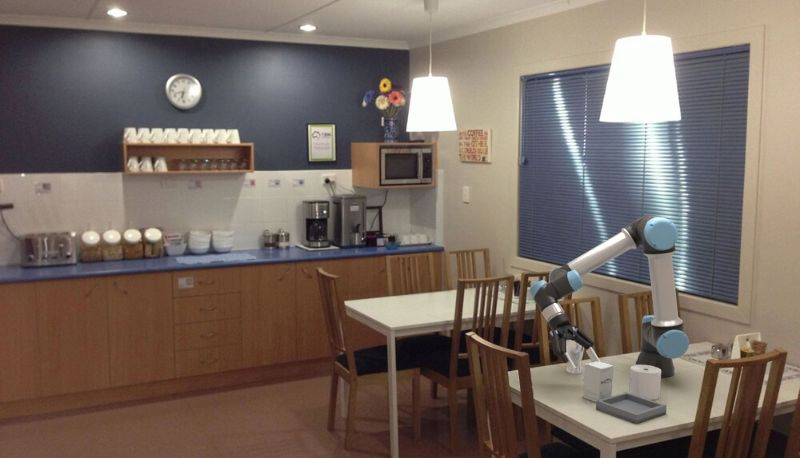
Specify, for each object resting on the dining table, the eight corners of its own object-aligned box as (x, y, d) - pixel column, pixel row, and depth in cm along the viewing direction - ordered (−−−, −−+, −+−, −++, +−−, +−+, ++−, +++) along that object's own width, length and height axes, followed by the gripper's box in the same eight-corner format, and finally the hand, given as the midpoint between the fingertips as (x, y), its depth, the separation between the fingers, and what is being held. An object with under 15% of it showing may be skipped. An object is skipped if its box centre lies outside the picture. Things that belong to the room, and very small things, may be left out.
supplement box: (598, 403, 257) (600, 368, 256) (582, 397, 263) (583, 363, 261) (612, 399, 261) (614, 365, 260) (595, 393, 267) (597, 360, 266)
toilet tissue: (653, 390, 272) (655, 364, 271) (665, 402, 260) (667, 374, 259) (625, 390, 272) (626, 364, 271) (635, 401, 260) (637, 374, 259)
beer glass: (583, 375, 289) (584, 338, 288) (565, 373, 291) (566, 337, 289) (582, 369, 296) (584, 333, 295) (564, 368, 298) (566, 332, 296)
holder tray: (625, 400, 261) (626, 392, 260) (666, 413, 248) (666, 405, 247) (595, 409, 251) (596, 400, 251) (636, 423, 238) (636, 415, 238)
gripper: (572, 319, 284) (601, 366, 274) (527, 327, 270) (556, 377, 259) (584, 308, 280) (614, 356, 269) (538, 316, 265) (568, 367, 255)
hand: (585, 367), depth 264 cm, fingers open, 13 cm apart
